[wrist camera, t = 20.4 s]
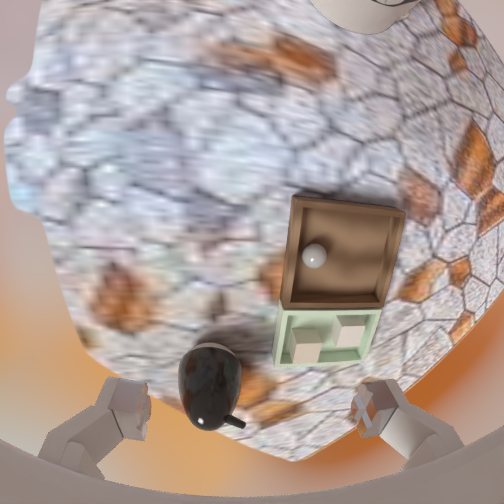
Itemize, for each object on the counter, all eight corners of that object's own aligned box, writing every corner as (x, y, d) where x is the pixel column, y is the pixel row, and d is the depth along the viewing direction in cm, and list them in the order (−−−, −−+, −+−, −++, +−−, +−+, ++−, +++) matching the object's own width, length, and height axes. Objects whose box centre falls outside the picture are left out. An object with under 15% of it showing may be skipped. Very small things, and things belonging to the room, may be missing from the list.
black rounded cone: (234, 381, 50) (236, 449, 36) (178, 370, 48) (166, 438, 34) (250, 340, 47) (257, 411, 32) (187, 326, 45) (173, 397, 31)
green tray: (279, 298, 44) (283, 310, 41) (373, 298, 45) (382, 309, 42) (271, 353, 48) (274, 367, 45) (357, 350, 49) (363, 362, 46)
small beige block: (334, 312, 45) (342, 326, 41) (356, 312, 45) (365, 325, 41) (329, 332, 46) (336, 347, 42) (350, 332, 46) (358, 346, 43)
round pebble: (301, 239, 40) (307, 247, 37) (324, 240, 40) (332, 249, 37) (298, 262, 41) (303, 272, 38) (320, 263, 42) (327, 273, 38)
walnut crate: (292, 195, 39) (297, 200, 35) (394, 207, 40) (405, 212, 37) (280, 295, 44) (283, 307, 41) (374, 296, 45) (382, 306, 42)
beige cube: (291, 328, 45) (296, 343, 42) (316, 328, 46) (322, 343, 42) (288, 347, 47) (292, 363, 43) (311, 347, 47) (317, 362, 43)
